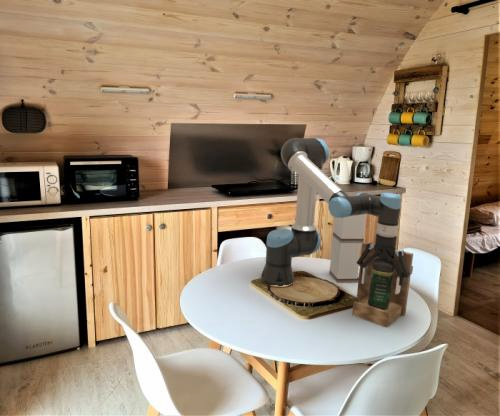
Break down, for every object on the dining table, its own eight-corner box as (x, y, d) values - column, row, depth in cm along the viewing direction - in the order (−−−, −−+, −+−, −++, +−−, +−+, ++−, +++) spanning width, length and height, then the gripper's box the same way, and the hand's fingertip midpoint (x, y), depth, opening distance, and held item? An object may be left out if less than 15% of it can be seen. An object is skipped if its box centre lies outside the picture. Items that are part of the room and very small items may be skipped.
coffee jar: (388, 312, 164) (394, 265, 160) (366, 307, 167) (372, 261, 163) (389, 302, 173) (395, 257, 169) (368, 298, 176) (374, 254, 172)
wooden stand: (340, 311, 173) (346, 250, 167) (360, 298, 186) (366, 241, 180) (389, 328, 160) (397, 263, 155) (407, 313, 173) (414, 252, 168)
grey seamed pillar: (359, 282, 203) (366, 208, 195) (337, 283, 201) (344, 208, 194) (350, 273, 214) (357, 203, 207) (329, 274, 212) (335, 203, 205)
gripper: (351, 229, 169) (346, 281, 174) (416, 244, 154) (408, 300, 158) (360, 226, 175) (355, 276, 179) (423, 239, 159) (416, 294, 164)
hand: (380, 287), depth 169 cm, fingers open, 13 cm apart
